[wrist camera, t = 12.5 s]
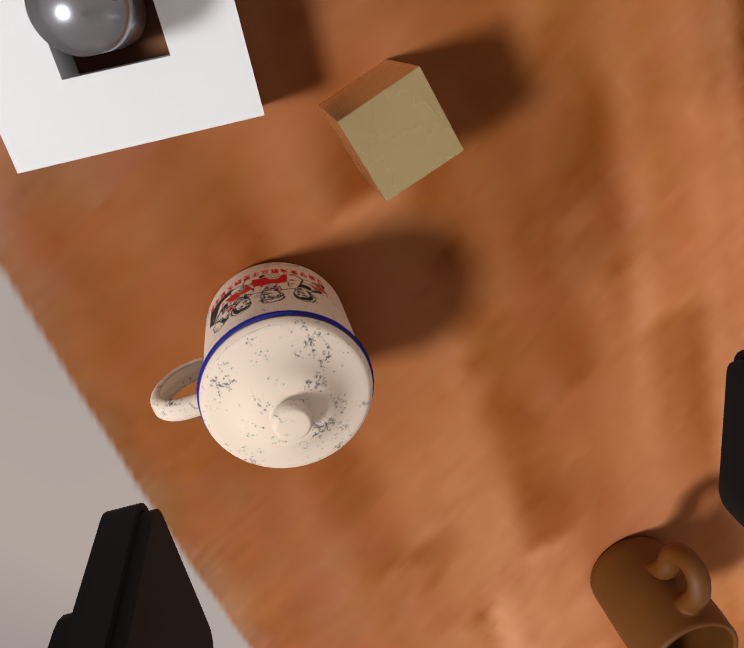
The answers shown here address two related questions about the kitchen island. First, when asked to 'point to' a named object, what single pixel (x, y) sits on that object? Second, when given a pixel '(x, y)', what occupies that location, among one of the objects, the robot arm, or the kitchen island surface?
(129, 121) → the block
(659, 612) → the mug
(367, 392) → the teacup with lid
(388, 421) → the kitchen island surface
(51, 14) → the round bit
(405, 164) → the square bit
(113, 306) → the kitchen island surface
